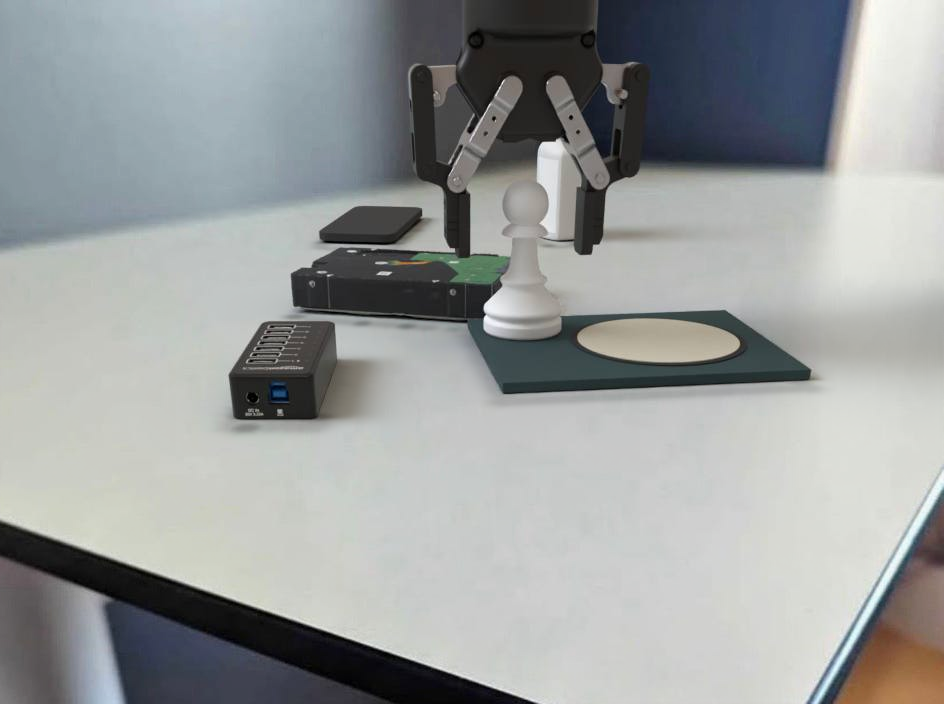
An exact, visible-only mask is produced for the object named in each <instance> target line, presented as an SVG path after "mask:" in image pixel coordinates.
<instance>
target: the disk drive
mask: <svg viewBox="0 0 944 704" xmlns="http://www.w3.org/2000/svg"><path fill="white" fill-rule="evenodd" d="M510 259H511V255H499V254H497V253H496V254H495V253H470V258H458V257H457V256H456V254H455V251H454V252H452V251H451V252H450V251H434V250H433V251H431V250H430V251H429V250H411V249H395V248H394V249H391V248H373V247H371V248H370V247H354V246H352V247H343V246H341V247H337V248H336V249H334V250H332V251H331V252H329V253H327V254H325V255H324V256H321V257H319V258H317V259H315V260H313V261H312V263H311V266H310V267H300V268H298V269H297V270H295V271H292V272H290V284H291V285H290V286H291V287H290V288H291V299H292V305H293V307H294V308H300V309H303V310H309V311H320V312H323V311H324V312H334V313H336V312H337V313H344V314H345V313H346V314H352V315H353V314H355V315H364V316H371V315H372V316H383V315H384V316H385V315H387V316H388V315H391V316H393V315H396V316H407V317H412V318H418V319H430V320H444V321H445V320H446V321H462V322H463V321H464V322H465V321H468V319H484V317H485V316H486V313H485V312H484V305H485V303H486V302H487V301H488V300H489V299H490V298H491V297H492V296H493V295H494V294H495V293H496V292H497V291H498V290H499V289H500V288H501V287H502V283H501V281H500V278H501V276H503V275H504V274H505V273H506V272H507V270H508V268H509V264H510Z"/></svg>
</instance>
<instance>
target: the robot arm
mask: <svg viewBox="0 0 944 704" xmlns="http://www.w3.org/2000/svg"><path fill="white" fill-rule="evenodd" d="M461 1H462V3H461V4H462V7H461V8H462V9H461V11H462V14H461V15H462V17H461V18H462V21H461V22H462V25H461V26H462V29H461V30H462V38H461V39H462V41H461V48H460V51H459V54H458V57H457V59H456V61H455V64H444V65H425V64H422V63H421V62H416V63H412V64H411V65H410V66H409V67H408V69H407V73H406V77H407V79H406V81H407V92H408V93H407V94H408V112H409V114H408V115H409V128H410V129H409V130H410V146H411V163H412V169H413V172H414V173H415V174H416V176H417V177H418V178H419V179H420V180H421V181H423V182H428V183H431V184H433V185H436V186H438V187H440V188H441V190H442V193H443V237H444V239H445V241H446V244H447V246H448V247H449V248H450V249H454V252H455V254H456V256H457V257H458V258H470V254H471V193H470V191H468V190H467V186H468V185H469V183H470V181H471V180H472V177H473V176H474V174H475V172H476V171H477V169H478V168H479V165H480V164H481V162H482V160H484V159H485V157H486V156H487V154H488V152H489V151H490V149H491V147H492V145H493V144H494V142H495V140H497V141H500V142H501V143H503V144H504V143H506V144H511V143H516V144H517V143H520V142H522V141H526V140H528V139H530V140H535V141H538V142H541V143H542V142H556V140H557V139H559V138H560V140H561V142H562V144H563V146H564V148H565V149H566V151H567V152H568V154H569V155H570V157H571V159H572V161H573V163H574V165H575V167H576V169H577V171H578V173H579V175H580V187H577V190H576V210H575V230H574V239H573V249H574V252H575V253H577V254H578V255H579V256H592V254H593V252H594V251H593V250H594V246H597V245H598V246H600V244H601V242H602V239H603V237H604V227H605V212H606V211H605V210H606V198H607V197H606V195H607V192H608V189H609V187H610V186H611V185H612V184H614V183H616V182H618V181H621V180H623V179H626V178H628V179H630V178H633V177H635V176H636V175H638V173H639V172H640V168H641V161H642V153H643V152H642V151H643V144H644V143H643V142H644V135H645V134H644V133H645V123H646V117H647V107H648V97H649V90H650V79H651V71H650V68H649V67H648V65H646V64H644V63H641V62H636V61H628V62H625V63H622V64H620V63H619V64H618V63H617V64H616V63H602V60H601V58H600V55H599V52H598V47H597V32H598V31H597V30H598V16H599V15H598V14H599V0H461ZM601 84H603V85H604V87H605V90H606V97H607V100H608V102H610V103H611V104H613V105H614V114H613V125H612V133H611V134H612V135H611V146H610V155H609V156H607V157H604V158H602V156H601V155H600V152H599V150H598V148H597V144H596V141H595V139H594V136H593V135H592V133H591V130H590V128H589V127H588V125H587V123H586V120H585V119H584V116H583V115H582V112H583V111H584V109H585V107H586V106H587V104H589V102H590V100H591V98H592V97H593V96H594V94H595V93H596V91H598V88H599V86H601ZM453 85H455V86H456V87H457V89H458V90H459V92H460V93H461V95H462V97H463V98H464V100H465V102H466V103H467V105H468V107H470V109H471V111H472V112H473V114H472V116H471V117H470V119H469V121H468V123H467V124H466V126H465V128H464V130H463V131H462V133H461V136H460V137H459V140H458V143H457V145H456V147H455V150H454V151H453V153H452V155H451V157H450V158H449V160H448V162H444V161H442V160H440V159H438V158H437V142H436V141H437V139H436V119H435V109H436V108H441V107H442V106H443V105H444V104H445V102H446V99H447V94H448V93H447V92H448V90H449V89H450V87H452V86H453Z"/></svg>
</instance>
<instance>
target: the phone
mask: <svg viewBox="0 0 944 704" xmlns="http://www.w3.org/2000/svg"><path fill="white" fill-rule="evenodd" d="M422 217H423V208H421V207H418V206H389V205H388V206H387V205H385V206H384V205H357V206H353V207H352V208H351V209H349V210H348V211H346V212H345V213H343V214H342V215H340V216H339V217H337V218H335V219H334V220H333V221H332V222H330V223H328V224H327V225H325V226H324V227H322V228H320V229H319V231H318V236H319V238H318V239H319V240H320V241H325V242H351V243H393V242H395V241H397V240H398V239H399V238H400V237H401V236H403V234H405V232H406V231H408V230H409V229H410V228H411V227H412V226H413V225H414V224H415V223H417V222H418V221H419V220H420V219H421V218H422Z"/></svg>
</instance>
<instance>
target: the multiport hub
mask: <svg viewBox="0 0 944 704" xmlns="http://www.w3.org/2000/svg"><path fill="white" fill-rule="evenodd" d="M335 323H336V322H334V321H331V320H330V321H329V320H268V321H264V322H262V323H260V325H259V326H258V328H257V329H256V331H255V332H254V334H253V336H252V337H251V339H249V342H248V343H247V345H246V346H245V348H244V350H243V351H242V353H241V354H240V356H239V357H238V359H237V360H236V362H235V363H234V365H233V367H232V368H231V369H230V370H229V373H228V375H227V376H228V382H229V383H228V384H229V392H230V399H231V408H232V409H231V410H232V415H233V417H234V418H235V419H245V420H246V419H251V420H252V419H256V420H257V419H314V418H316V417H318V415H319V412H320V409H321V407H322V404H323V401H324V398H325V396H326V392H327V389H328V387H329V384H330V381H331V378H332V375H333V373H334V370H335V367H336V365H337V362H338V355H337V354H338V351H337V336H336V335H337V334H336V324H335Z"/></svg>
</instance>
